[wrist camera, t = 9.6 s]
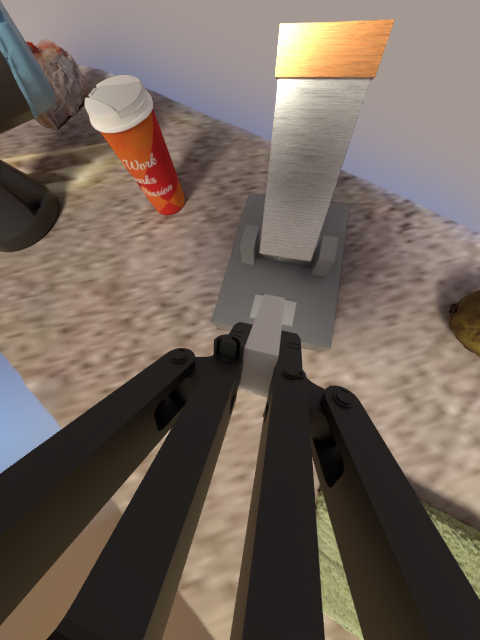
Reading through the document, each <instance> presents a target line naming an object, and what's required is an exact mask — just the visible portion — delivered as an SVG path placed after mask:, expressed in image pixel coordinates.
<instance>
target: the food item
mask: <svg viewBox="0 0 480 640" xmlns="http://www.w3.org/2000/svg"><path fill="white" fill-rule="evenodd" d="M25 42H26V41H25ZM26 43H27V45H28V47H29V48H30V50H31V52H32V53H33V55H34V57H35V58H36V60H37V62H38V63H39V65H40V67H41V69H42V70H43V72H44V74H45V75H46V77H47V79H48V81H49V83H50V85H51V86H52V89H53V91H54V94H55V104H54V106H53V107H52V108H51V109H49V110H47V111H45V112H44V113H42V114H40V115H38V118H37V119H36V120H37V121H38V122H39V123H40V124H41V125H43V126H44V127H49V128H52V129H55V130H57V129H58V128H59V126H60V125H61V124H62V123H63V122H65V121H66V119H67V118H68V116H72V115H76V114H77V112H78V110H79V106H80V105H81V104H82V103H83V102H84V101H85V98H88V92H87V91H89V87H88V83H87V81H86V80H85V79H84V77H83V75H82V73H81V72H80V70H79V68H78V66H77V65H76V63H75V61H74V59H73V58H72V56H71V55H70V54H69V53H68V52H66V51H64V49H62V48H60V47H59V46H57V44H56V43H54V42H53V41H51V40H48V39H44V40H42V41H41V42H40V43H39V44H38V45H36V46H34V45H33V44H32V43H30V42H26Z"/></svg>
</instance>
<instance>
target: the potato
mask: <svg viewBox="0 0 480 640" xmlns="http://www.w3.org/2000/svg"><path fill="white" fill-rule="evenodd" d="M449 313H451V314H450V322H449V325H450V329H452V331H453V332H454V334H455V336H456V338H457V339H458V340H459V341H460V343H462V344H463V345H464V347H465V348H466V349H467V350H469V351H471V352H473V353H475V354H476V355H477V356H478V357H480V290H479V291H476V292H474V293H472V294H470V295H468V296H466V297H464V298H463V299H461V300H460V301H459V302H458V303H455V304H453V305H451V306H450V310H449Z"/></svg>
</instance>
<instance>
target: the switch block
mask: <svg viewBox="0 0 480 640" xmlns="http://www.w3.org/2000/svg"><path fill="white" fill-rule="evenodd" d="M265 197H266V195H261V194H251V193H249V196H248V199H247V203H246V206H245V209H244V213H243V216H242V219H241V223H240V226H239V230H238V233H237V236H236V240H235V243H234V246H233V250H232V253H231V256H230V260H229V263H228V267H227V270H226V273H225V277H224V280H223V283H222V287H221V290H220V293H219V297H218V300H217V304H216V307H215V310H214V314H213V317H212V320H211V322H212V323H213V324H214V325H215V326H216V327H217V328H218V329H221V330H226V331H231V330H232V328H233V326H234V325H235V324H236V323H238V322H243V323H248V324H254V321H255V318H256V315H257V313H258V310H259V307H260V305H261V302H262V299H263V297H264V294H267V295H273V296H278V297H283V298H285V302H284V312H283V321H282V330H283V331H288V332H292V333H297V334H298V336H299V337H300V339H301V348H304V349H309V350H313V351H317V352H321V351H324V350H327V349H330V348H331V342H332V335H333V327H334V320H335V312H336V305H337V297H338V290H339V282H340V275H341V267H342V260H343V252H344V245H345V237H346V230H347V223H348V215H349V208H350V204H347V203H338V202H330V204H329V207H328V210H327V214H326V217H325V220H324V223H323V226H322V229H321V232H320V235H319V238H318V241H317V244H316V251H315V255H314V259H313V262H312V265H311V267H307V266H301V265H295V264H288V263H282V262H276V261H270V260H263V259H258V248H259V243H260V239H261V234H262V225H263V215H264V206H265Z"/></svg>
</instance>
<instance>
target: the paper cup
mask: <svg viewBox="0 0 480 640" xmlns="http://www.w3.org/2000/svg"><path fill="white" fill-rule="evenodd" d="M96 87H97V89H96V88H94V89H93V90H92V91H91V92H90V94H89V95H88V96H89V98H85V108H86V110H87V112H88V114H89V118H90V122H91V125H92V126H93V127H94V128H95V129H96V130H98V131H100V133H101V134H102V135H103V137H104V138H105V140H106V141H107V142H108V144H109V145H110V147H111V148H112V149H113V151H114V152H115V153H116V155H117V156H118V158H119V159H120V160H121V162H122V163H123V165H124V166H125V167H126V169H127V170H128V172H129V173H130V174H131V176H132V177H133V179H134V180H135V181H136V183H137V184H138V185H139V187H140V188H141V190H142V191H143V192H144V194H145V195H146V196H147V198H148V199H149V201H150V202H151V203H152V205H153V206H154V207H155V209H156V210H157V211H158V212H159V213H160V214H163V215H172V214H175V213H177V212H179V211H180V210H181V209H182V208H183V206H184V204H185V197H184V194H183V191H182V188H181V185H180V182H179V179H178V177H177V174H176V171H175V168H174V166H173V163H172V160H171V157H170V154H169V152H168V149H167V146H166V143H165V141H164V138H163V135H162V132H161V130H160V127H159V124H158V121H157V118H156V116H155V113H154V110H153V100H152V97H151V95H150V94H149V93H148V92H147V91H146V90H145V88H144V87H143V85H142V83H141V82H140V80H138V79H137V78H136V77H133V76H130V75H119V76H114V77H111V78H108V79H106V80H103V81H102V82H100V83H98V84H97V85H96Z"/></svg>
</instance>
